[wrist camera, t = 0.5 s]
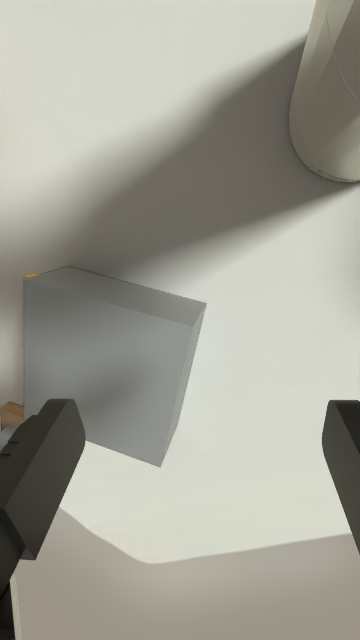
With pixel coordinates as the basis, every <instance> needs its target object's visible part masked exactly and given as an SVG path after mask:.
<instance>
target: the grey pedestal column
mask: <svg viewBox="0 0 360 640" xmlns="http://www.w3.org/2000/svg"><path fill="white" fill-rule="evenodd" d="M0 416H1V432H0V451H1V450H2V449H3V447H4V446H5V444H6V445H7V443H8V440H9V439H10V437H11V436H12V435H13V433H14V432H15V430H16V429H17V428H18V427H19V426H20V425H21V424H22V423H23V422H24V421H26V420H27V419H26V418H24V407H23V406H21V405H18V404H15V403H12V402H8V403H7V404H6V405H4V406H3V407H2V408H0Z"/></svg>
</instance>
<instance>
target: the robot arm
mask: <svg viewBox="0 0 360 640" xmlns="http://www.w3.org/2000/svg"><path fill="white" fill-rule="evenodd" d="M289 129H290V136H291V140H292V143H293V146H294V149H295V151H296V152H297V154H298V156H299V157H300V159H301V161H302V162H303V163H304V164H305V165H306V166H307V167H308V168H309V169H310V170H311V171H313V172H315V173H316V174H318V175H320V176H321V177H323V178H326V179H330V180H333V181H336V182H350V183H351V182H358V181H360V0H316V4H315V8H314V12H313V16H312V20H311V24H310V28H309V32H308V36H307V40H306V44H305V48H304V51H303V55H302V59H301V63H300V67H299V71H298V74H297V78H296V82H295V86H294V90H293V94H292V98H291V102H290V110H289ZM85 440H86V434H85V429H84V426H83V423H82V420H81V417H80V414H79V411H78V408H77V405H76V402H75V400H74V399H49V400H47V401H46V403H45V404H44V405H43V407H42V408H41V410H40V411H39V413H38V414H37V415H32V416H30V417H29V418H28V419H27V420H26V421H24V422H23V423H22V424H21V425H20V426H19V427H18V428H17V429H16V430H15V432H14V433H13V435H12V436H11V437H10V439H9V440H8V443H7V445H6V444H5V446H4V447H3V449H2V450H1V451H0V640H22V635H21V627H20V617H19V608H18V599H17V590H16V581H15V576H14V574H13V572H14V570H15V568H16V566H17V564H18V562H19V559H24V560H36V557H37V555H38V553H39V551H40V548H41V546H42V544H43V541H44V539H45V537H46V534H47V532H48V530H49V528H50V525H51V523H52V520H53V519H54V516H55V514H56V511H57V509H58V507H59V505H60V503H61V500H62V498H63V496H64V493H65V491H66V489H67V486H68V484H69V482H70V480H71V477H72V475H73V473H74V470H75V468H76V466H77V464H78V461H79V459H80V457H81V454H82V452H83V450H84V446H85ZM322 447H323V453H324V456H325V459H326V462H327V465H328V468H329V471H330V473H331V476H332V479H333V482H334V484H335V487H336V490H337V493H338V496H339V498H340V501H341V504H342V507H343V509H344V512H345V515H346V518H347V520H348V523H349V526H350V529H351V532H352V534H353V537H354V540H355V542H356V545H357V548H358V551H359V554H360V401H358V400H330V401H329V403H328V406H327V412H326V417H325V422H324V428H323V433H322Z"/></svg>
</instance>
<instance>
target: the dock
mask: <svg viewBox="0 0 360 640" xmlns="http://www.w3.org/2000/svg"><path fill="white" fill-rule="evenodd" d="M23 283H24V418H26V419H28V418H29V417H30V416H32V415H37V414H38V413H39V411H40V410H41V408H42V407H43V405H44V404H45V403H46V401H47V400H49V399H74V400H75V402H76V405H77V408H78V411H79V414H80V417H81V420H82V423H83V426H84V429H85V434H86V441H89V442H92V443H94V444H97V445H100V446H103V447H105V448H108V449H111V450H114V451H116V452H119V453H122V454H125V455H127V456H130V457H133V458H136V459H138V460H141V461H144V462H147V463H149V464H152V465H155V466H158V467H160V468H161V465H162V463H163V460H164V458H165V455H166V453H167V450H168V447H169V445H170V442H171V440H172V437H173V435H174V432H175V430H176V427H177V425H178V421H179V417H180V412H181V408H182V404H183V400H184V396H185V391H186V387H187V383H188V379H189V375H190V371H191V366H192V362H193V358H194V354H195V350H196V345H197V341H198V337H199V333H200V329H201V324H202V320H203V316H204V312H205V308H206V304H207V303H203V302H200V301H196V300H192V299H188V298H185V297H181V296H177V295H173V294H170V293H166V292H162V291H158V290H155V289H151V288H147V287H143V286H140V285H136V284H132V283H128V282H125V281H121V280H117V279H113V278H109V277H106V276H102V275H98V274H94V273H91V272H87V271H83V270H79V269H76V268H72V267H68V266H67V267H63V268H60V269H56V270H53V271H50V272H46V273H43V274H37V273H31V274H28V275H24V279H23Z"/></svg>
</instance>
